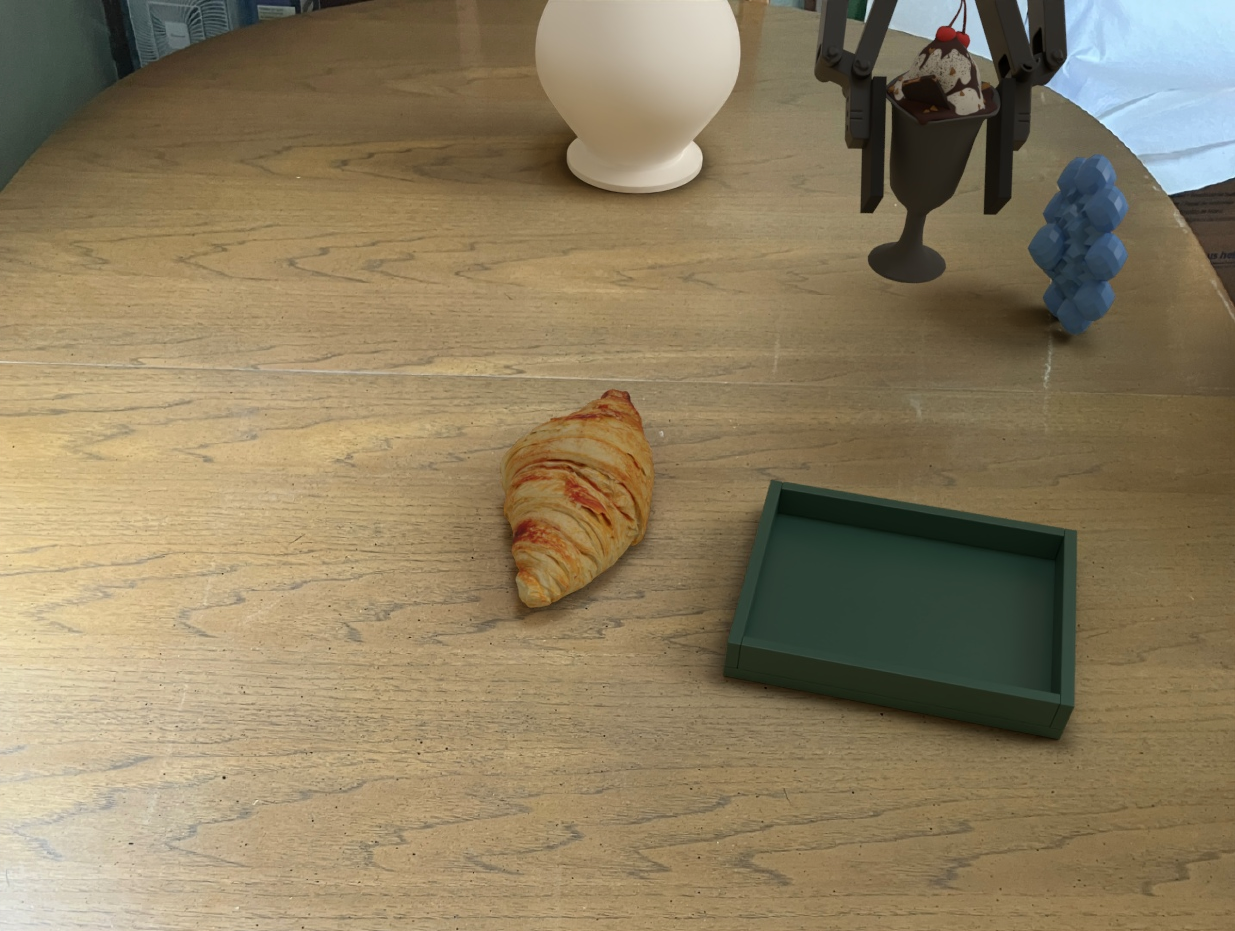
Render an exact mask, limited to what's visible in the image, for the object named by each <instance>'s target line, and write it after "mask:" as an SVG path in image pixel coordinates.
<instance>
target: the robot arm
mask: <svg viewBox="0 0 1235 931" xmlns="http://www.w3.org/2000/svg"><path fill="white" fill-rule="evenodd" d="M898 1H899V0H873V1H872V3H871V7H870V9H869V13H868V15H867V17H866V21H865V23H864V26H863V29H862V31H861V35H860V37H859V39H858V43H857V45H856V49H855V51H854V53H853V52H851V51H849V50H846V49H844V46H845V37H846V28H847V21H848V13H849V4H850V0H821V6H820V15H819V16H820V17H819V25H818V33H817V43H816V51H815V59H814V69H813V74H814V77H815V79H816V80H817V81H818V82H820V83H828V82H832V83H833V84H836V85H838V86H840V88H841V94H842V96H843V98H844V99H845V105H844V106H845V110H844V121H845V122H844V141H845V142H844V143H845V144H846V147H847V149H848V150H849V149H850V150H857V149H858V150H861V168H860V203H859V204H860V206H859V207H860V209H859V210H860V211H859V214H874V212H875V211H876V210H877V208H878V206H879V205H880V203H881V202H882V201H883V198H884V196H885V195H884V194H885V161H886V158H885V157H886V124H887V123H886V122H887V121H886V119H887V116H886V115H887V98H886V88H887V84H888V82H887V81H888V77H887V75H886V76H885V75H880V76H879V75H873V71H874V68H875V66H876V63H877V60H878V57H879V56H880V55H879V54H880V52H881V49H882V46H883V43H884V42H885V41H884V40H885V38H886V35H887V32H888V29H889V26H890V23H891V21H892V18H893V15H894V13H895V11H896V10H895V9H896V7H897V5H898ZM1065 1H1066V0H1026V5H1027V8H1026V9H1027V22H1028V24H1027V25H1028V34H1027V31H1026V27H1025V24H1024V21H1023V17H1022V14H1021V10H1020V7H1019V3H1018V0H974V3H975V7H976V10H977V14H978V17H979V20H980V24H981V26H982V30H983V34H984V38H985V40H986V44H987V47H988V50H989V53H990V57H991V60H992V64H993V67H994V71H995V74H996V77H997V80H998V84H997V85H996V87H994V88H995V89H996V90H997V91H998V93H999V97H1000V104H1001V105H1000V108H999V111H998V113H997V114H996V115H995V116H993V117H990V118H988V119H986V128H985V129H986V130H985V131H986V132H985V156H984V157H985V158H984V186H983V187H984V189H983V190H984V191H983V215H984V216H996V215H998V213H999V212H1000V211H1001V210H1002V209H1003V208H1004V207H1005V206H1006V205H1007V204H1008V203H1009V202H1010V201H1011V200H1012V198H1013V197H1012V194H1013V193H1012V192H1013V170H1014V169H1013V166H1014V165H1013V164H1014V152H1019V151H1020V149H1021V148H1022V147H1023V146H1024V145H1025V143H1026V142H1027V141H1028V139H1029V135H1030V133H1031V119H1032V118H1031V117H1032V115H1031V113H1032V96H1033V95H1032V93H1033V87H1036V86H1041V87H1043V86H1046V85H1047V84H1049V83H1050V81H1052V79H1053V78H1054V77H1055V75H1056V74H1057V73H1058V71H1059V70H1061V68H1062V67H1063V66H1064V64H1065V63H1066V61H1067V59H1068V42H1067V40H1068V39H1067V24H1066V23H1067V21H1066V4H1065V3H1066V2H1065Z"/></svg>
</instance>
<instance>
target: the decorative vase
mask: <svg viewBox="0 0 1235 931" xmlns="http://www.w3.org/2000/svg"><path fill="white" fill-rule="evenodd" d="M535 36H536V38H535V46H534V47H535V48H534V49H535V51H534V58H535V67H536V72H537V76H538V79H539V83H540V85H541V87H542V89H543V91H544V93H545V95H546V96H547V99H549V101H550V103H551V104H552V105H553V107H554V108H555V110H556V111H557V113H558V114H559V115H560V116H561V118H562V119H563V120H564V122H565V123H566V124H567V125H568V127H569V128H570V129H571V130H572V132H573V133H574V134H575V136H576V138H575V139H574V140H573V141H572V142H571V143H570V144H569V145H568V148H567V150H566V163H567V167H568V169H569V170H570V172H571V173H572V174H573V175H574V176H575V177H577V179H579V180H581V181H583V182H584V183H586V184H588V185H591V186H593V187H596V188H599V189H602V190H607V191H611V192H617V193H624V194H652V193H661V192H665V191H669V190H672V189H673V190H674V189H677V188H679V187H681V186H684V185H685V184H688V183H689V182H691V181H692V180H694V179H695V178H696V177H697V176H699V173H700V172H701V171H702V167H703V158H704V156H703V153H702V152H703V151H702V149H701V148H700V147H699V145H698V144H697V143H696V142H695V141H694V140H695V139H696V137H698V135H699V134H700V133H701V132H702V131H703V130H704V129H705V127H707V126H708V124H709V123H710V122H711V121H712V120H713V119H714V117H715V116H716V115H717V114H718V112H719V111H720V110H721V109H722V107H724V105H725V103H726V102H727V100H728V99H729V97H730V95H731V94H732V92H733V90H734V88H735V85H736V82H737V80H738V76H739V71H740V66H741V37H740V32H739V27H738V23H737V20H736V17H735V15H734V12H733V10H732V7H731V5H730V2H729V1H728V0H548V1H547V2H546V4H545V7H544V9H543V11H542V13H541V17H540V19H539V22H538V26H537V30H536V35H535Z"/></svg>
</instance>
